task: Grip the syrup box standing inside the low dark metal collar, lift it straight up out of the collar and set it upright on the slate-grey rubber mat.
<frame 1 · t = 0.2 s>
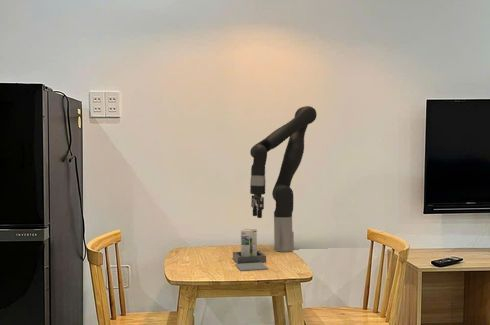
hand: (257, 216, 245), 18 cm above the table, tool pointing down, fingers open, 8 cm apart
syrup box: (249, 260, 226), resting in holder
mat: (251, 267, 212), on the table
holder: (249, 260, 226), on the table
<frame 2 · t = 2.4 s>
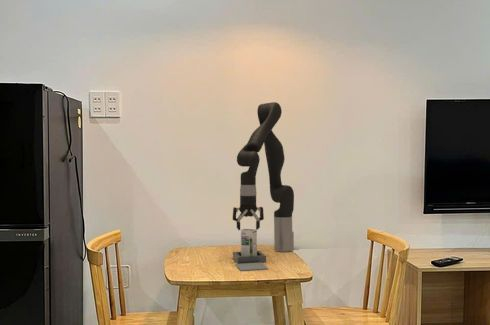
hand: (248, 229, 226), 14 cm above the table, tool pointing down, fingers open, 8 cm apart
syrup box: (249, 261, 226), resting in holder, touching gripper
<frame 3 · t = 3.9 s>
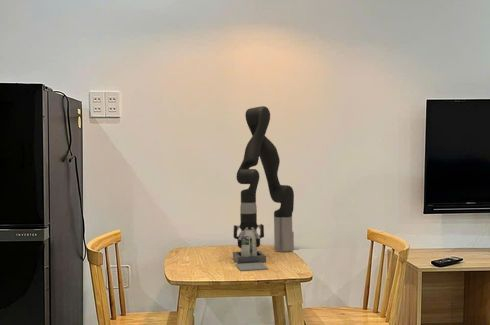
hand: (248, 247, 226), 6 cm above the table, tool pointing down, fingers closed on syrup box, 8 cm apart
syrup box: (249, 260, 226), resting in holder, touching gripper
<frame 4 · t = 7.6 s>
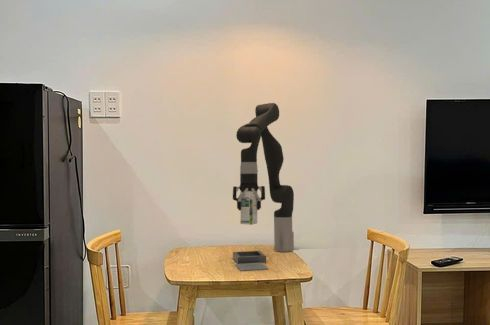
hand: (248, 210, 213), 25 cm above the table, tool pointing down, fingers closed on syrup box, 8 cm apart
syrup box: (248, 224, 213), point 18 cm above the table, touching gripper
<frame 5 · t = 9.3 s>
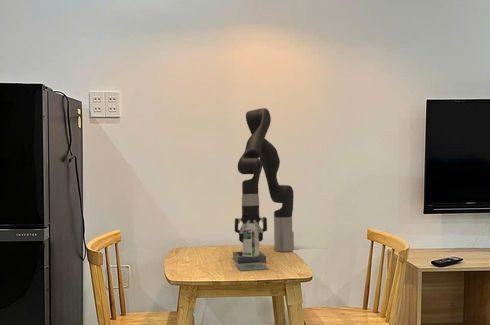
hand: (251, 241, 212), 11 cm above the table, tool pointing down, fingers closed on syrup box, 8 cm apart
syrup box: (251, 256, 212), point 5 cm above the table, touching gripper
when the fingers open (7 cm above the table, at t = 11.1 s): syrup box stays where it is, resting on mat.
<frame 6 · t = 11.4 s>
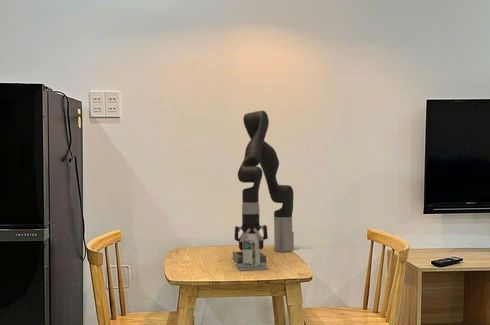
hand: (251, 249, 212), 8 cm above the table, tool pointing down, fingers open, 8 cm apart
syrup box: (251, 266, 212), resting on mat
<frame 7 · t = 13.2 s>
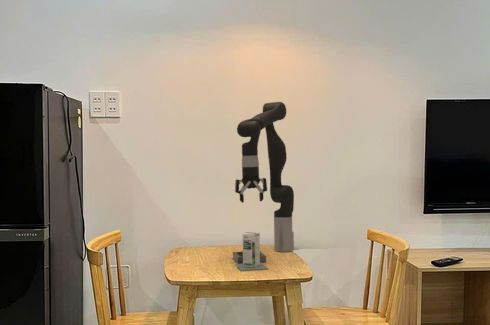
hand: (251, 201, 220), 28 cm above the table, tool pointing down, fingers open, 8 cm apart
nothing on the table moved.
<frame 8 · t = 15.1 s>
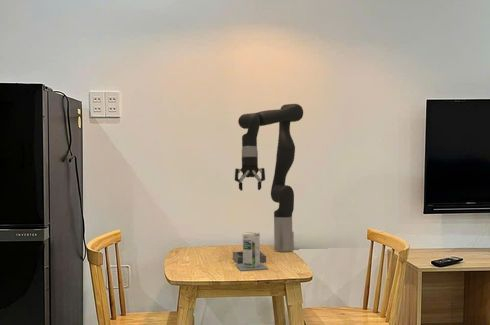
hand: (250, 190, 231), 32 cm above the table, tool pointing down, fingers open, 8 cm apart
nothing on the table moved.
at the end: syrup box inside the target area on the mat (0.1 cm from its centre), point 0.3 cm above the mat's base; syrup box tilted 0°; the gripper is holding nothing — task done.
